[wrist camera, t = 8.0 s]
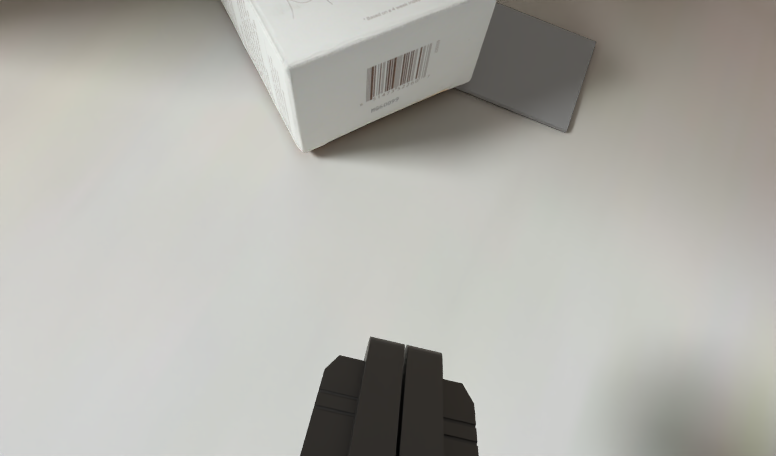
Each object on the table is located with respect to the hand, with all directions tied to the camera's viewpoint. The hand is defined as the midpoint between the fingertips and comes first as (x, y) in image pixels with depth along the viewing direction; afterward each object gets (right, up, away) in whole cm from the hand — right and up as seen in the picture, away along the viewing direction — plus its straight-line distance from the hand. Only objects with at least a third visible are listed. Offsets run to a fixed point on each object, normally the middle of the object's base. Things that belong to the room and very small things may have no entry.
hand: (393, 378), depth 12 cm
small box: (0, +8, +9) cm, 12 cm away
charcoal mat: (+3, +11, +13) cm, 18 cm away
